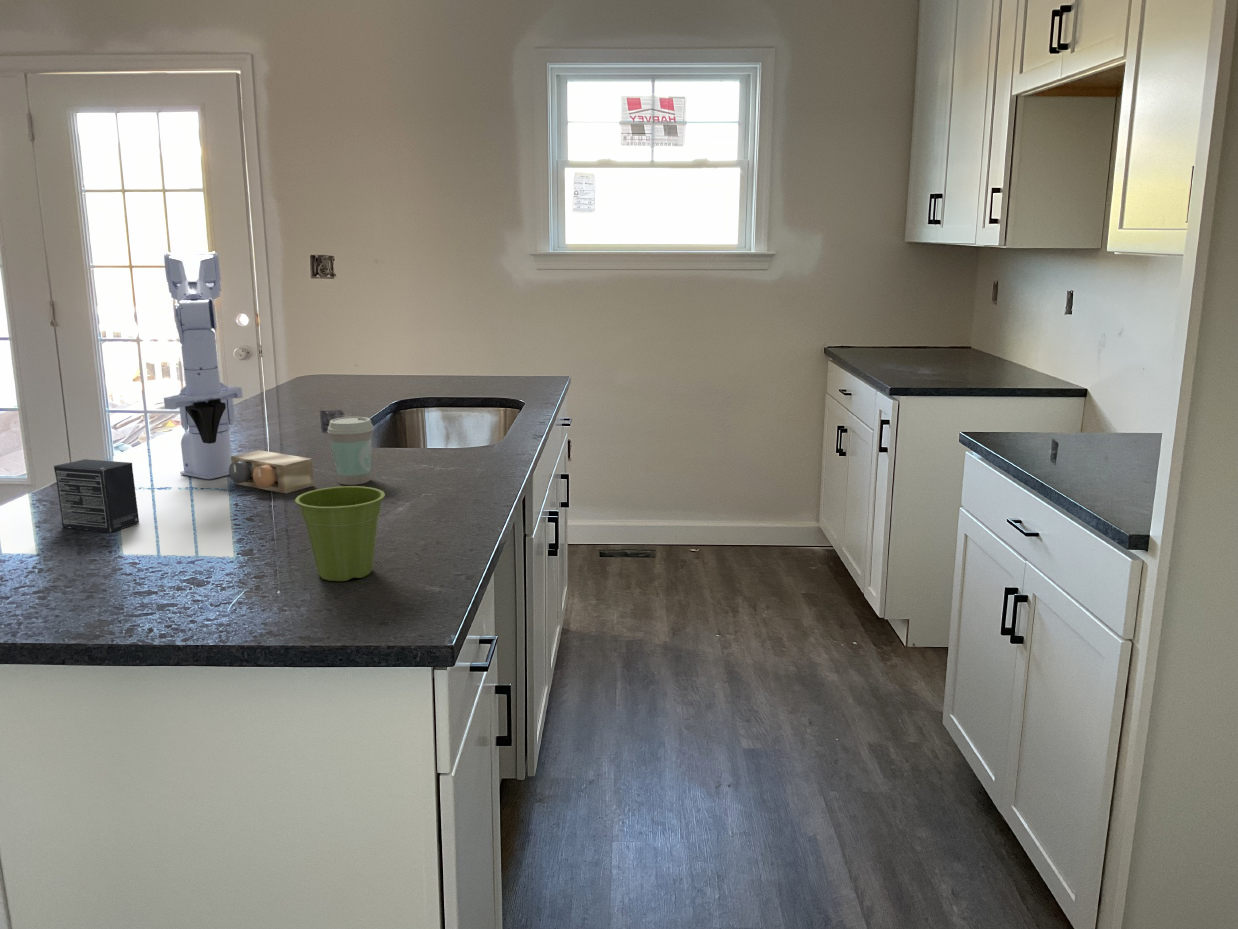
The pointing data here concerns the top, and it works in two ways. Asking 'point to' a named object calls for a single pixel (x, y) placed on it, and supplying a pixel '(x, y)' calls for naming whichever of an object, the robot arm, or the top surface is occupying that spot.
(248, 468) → the charcoal knob
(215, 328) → the robot arm
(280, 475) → the mount
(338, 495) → the plant pot
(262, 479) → the orange knob
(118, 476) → the small box
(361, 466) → the coffee cup
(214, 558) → the top surface
